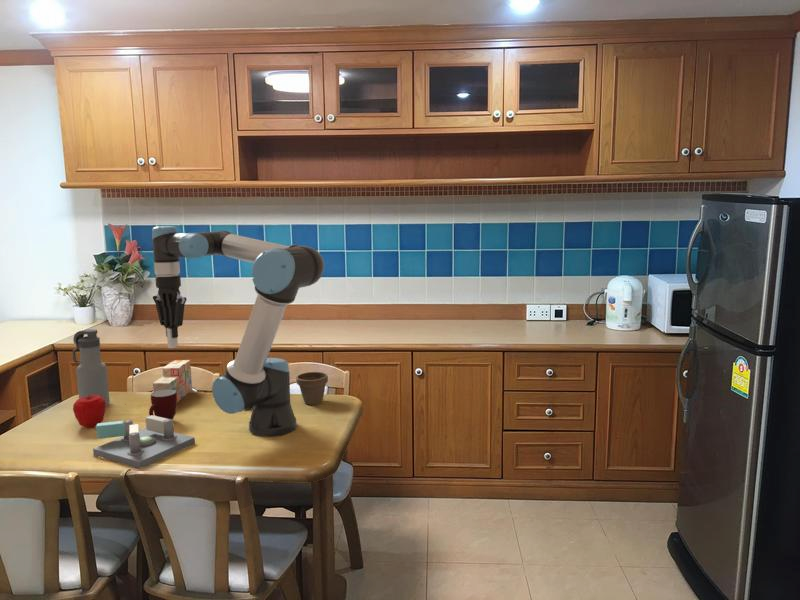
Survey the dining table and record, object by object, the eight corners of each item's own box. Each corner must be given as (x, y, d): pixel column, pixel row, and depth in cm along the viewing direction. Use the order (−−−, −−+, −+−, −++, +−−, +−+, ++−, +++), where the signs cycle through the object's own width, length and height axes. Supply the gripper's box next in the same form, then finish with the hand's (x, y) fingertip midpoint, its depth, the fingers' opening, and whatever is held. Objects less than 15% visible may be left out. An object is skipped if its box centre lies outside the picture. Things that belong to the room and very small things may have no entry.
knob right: (176, 436, 189) (174, 420, 188) (168, 439, 187) (167, 423, 186) (153, 430, 194) (152, 414, 193) (146, 433, 191) (144, 417, 190)
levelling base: (195, 443, 189) (194, 433, 189) (140, 468, 172) (139, 457, 171) (149, 432, 199) (149, 422, 198) (93, 455, 181) (92, 444, 181)
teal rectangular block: (134, 435, 190) (133, 419, 189) (133, 438, 187) (132, 422, 186) (99, 439, 187) (97, 423, 186) (97, 443, 184) (95, 426, 184)
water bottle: (72, 408, 222) (65, 332, 218) (93, 400, 231) (86, 326, 227) (95, 411, 219) (88, 334, 215) (115, 402, 228) (109, 328, 224)
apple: (96, 419, 211) (93, 388, 210) (114, 424, 206) (111, 392, 205) (68, 428, 203) (65, 396, 201) (86, 433, 198) (83, 401, 196)
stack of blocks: (171, 408, 222) (168, 374, 220) (153, 408, 222) (151, 375, 220) (192, 389, 243) (190, 359, 241) (176, 389, 243) (174, 359, 241)
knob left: (140, 452, 177) (139, 435, 176) (130, 454, 176) (128, 436, 175) (140, 440, 186) (138, 423, 185) (130, 441, 185) (128, 425, 184)
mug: (164, 429, 201) (162, 400, 199) (142, 427, 203) (140, 398, 201) (183, 418, 211) (181, 390, 209) (162, 416, 213) (160, 388, 211)
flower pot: (290, 402, 227) (289, 375, 225) (316, 395, 235) (315, 369, 233) (308, 409, 219) (307, 382, 217) (334, 402, 226) (334, 375, 225)
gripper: (191, 274, 197) (196, 346, 201) (163, 272, 203) (168, 342, 207) (173, 277, 191) (178, 352, 194) (143, 275, 197) (149, 347, 201)
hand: (172, 347), depth 201 cm, fingers closed
